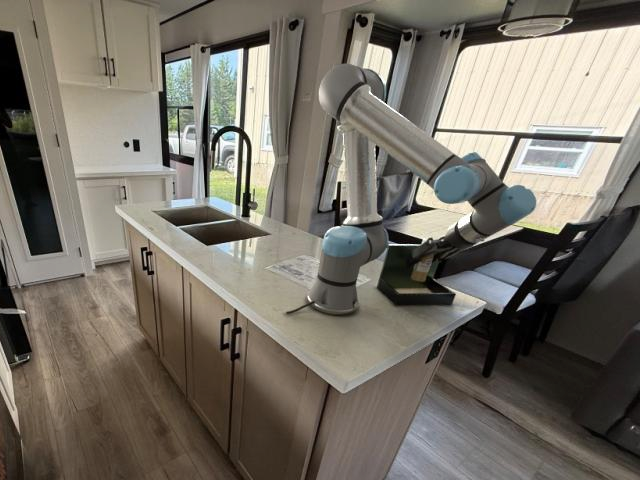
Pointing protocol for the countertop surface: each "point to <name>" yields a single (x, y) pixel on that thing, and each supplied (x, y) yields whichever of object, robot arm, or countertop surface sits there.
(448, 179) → the robot arm
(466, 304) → the countertop surface
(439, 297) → the box
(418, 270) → the sprinkles bottle
